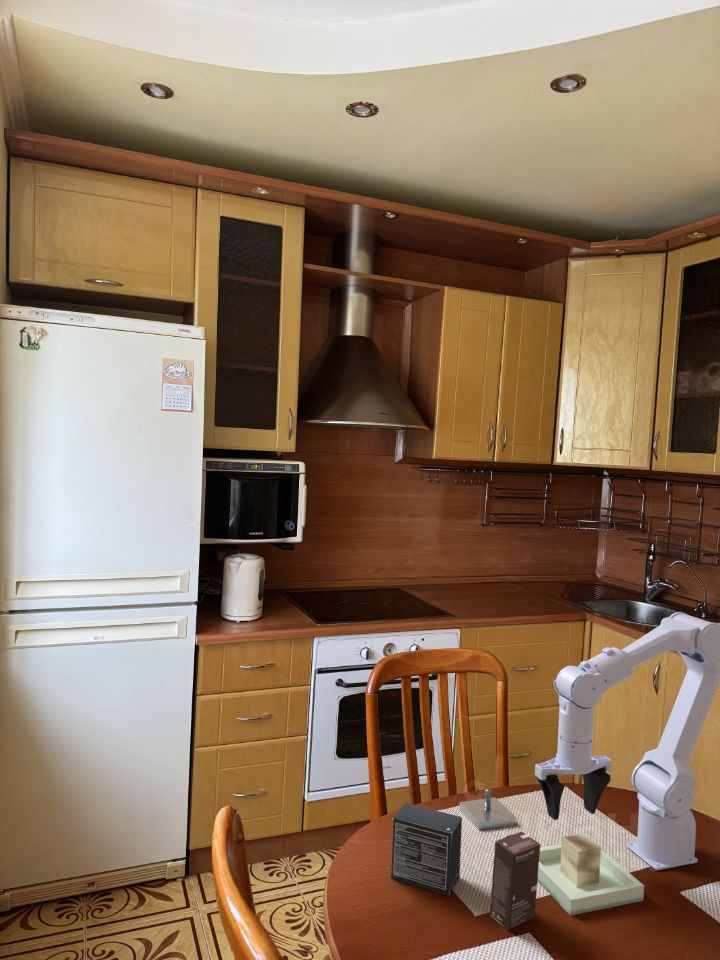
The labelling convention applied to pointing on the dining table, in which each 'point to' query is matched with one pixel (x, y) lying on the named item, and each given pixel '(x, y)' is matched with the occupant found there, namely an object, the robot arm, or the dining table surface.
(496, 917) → the box
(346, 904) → the dining table surface
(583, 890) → the tray
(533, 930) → the dining table surface
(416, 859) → the small box
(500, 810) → the silver peg base
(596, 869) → the birch block
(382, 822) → the dining table surface
